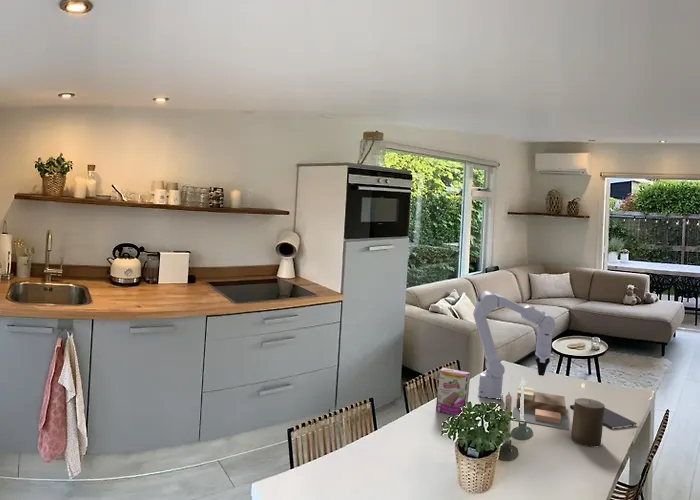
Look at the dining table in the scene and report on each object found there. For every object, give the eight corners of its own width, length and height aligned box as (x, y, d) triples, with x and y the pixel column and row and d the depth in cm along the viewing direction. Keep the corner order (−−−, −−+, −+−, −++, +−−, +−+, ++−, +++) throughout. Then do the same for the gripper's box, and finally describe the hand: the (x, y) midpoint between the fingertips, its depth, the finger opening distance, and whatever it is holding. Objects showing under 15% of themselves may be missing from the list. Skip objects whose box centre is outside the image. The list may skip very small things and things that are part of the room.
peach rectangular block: (535, 408, 210) (535, 413, 210) (535, 414, 205) (534, 419, 205) (560, 412, 207) (559, 418, 207) (560, 418, 202) (560, 423, 202)
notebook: (569, 408, 220) (611, 431, 200) (569, 405, 220) (612, 426, 200) (593, 406, 224) (637, 427, 205) (594, 402, 224) (637, 423, 204)
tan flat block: (516, 408, 216) (517, 398, 215) (517, 398, 227) (518, 389, 227) (564, 416, 210) (565, 406, 209) (563, 405, 221) (564, 396, 221)
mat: (511, 420, 204) (512, 419, 204) (513, 407, 216) (513, 407, 216) (569, 430, 197) (569, 429, 197) (567, 417, 210) (567, 416, 210)
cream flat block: (533, 400, 214) (533, 395, 214) (517, 397, 216) (517, 392, 216) (533, 393, 223) (533, 388, 223) (518, 390, 225) (518, 385, 225)
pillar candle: (598, 450, 182) (603, 406, 181) (568, 441, 187) (572, 399, 186) (602, 440, 191) (607, 398, 189) (573, 432, 196) (577, 392, 194)
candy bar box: (435, 412, 208) (438, 370, 206) (438, 407, 212) (441, 366, 211) (464, 418, 203) (467, 375, 201) (467, 413, 208) (470, 372, 206)
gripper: (554, 348, 217) (551, 381, 218) (554, 340, 230) (551, 371, 232) (535, 346, 219) (532, 379, 220) (536, 338, 233) (533, 369, 234)
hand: (541, 375), depth 226 cm, fingers closed
